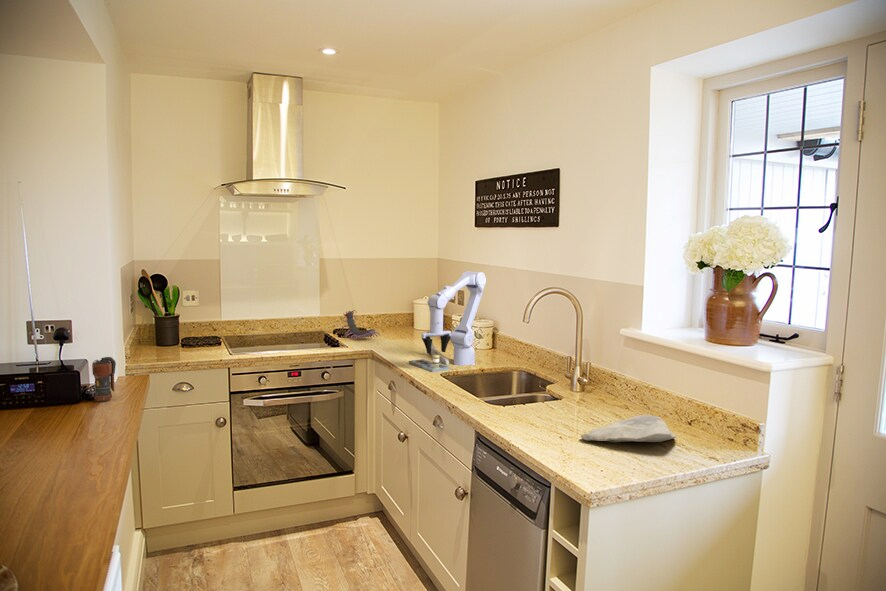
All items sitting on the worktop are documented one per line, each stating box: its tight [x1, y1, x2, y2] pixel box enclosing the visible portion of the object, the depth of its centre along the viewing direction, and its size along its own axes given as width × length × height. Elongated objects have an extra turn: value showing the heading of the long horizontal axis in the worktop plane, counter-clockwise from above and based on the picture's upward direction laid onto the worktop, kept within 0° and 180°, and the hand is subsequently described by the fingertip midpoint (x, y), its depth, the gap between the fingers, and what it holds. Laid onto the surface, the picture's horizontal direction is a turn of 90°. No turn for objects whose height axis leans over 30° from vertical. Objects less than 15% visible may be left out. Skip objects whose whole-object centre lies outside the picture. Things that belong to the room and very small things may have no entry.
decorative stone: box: [580, 414, 677, 443], centre depth 186 cm, size 28×7×30 cm
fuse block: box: [408, 358, 432, 369], centre depth 277 cm, size 8×10×2 cm
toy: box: [340, 310, 381, 340], centre depth 342 cm, size 12×26×15 cm, turn 44°
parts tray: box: [421, 363, 451, 373], centre depth 269 cm, size 9×9×2 cm
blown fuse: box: [431, 355, 440, 369], centre depth 269 cm, size 3×3×6 cm
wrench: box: [428, 341, 450, 366], centre depth 291 cm, size 8×2×30 cm
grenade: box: [91, 356, 117, 403], centre depth 213 cm, size 6×8×15 cm
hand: (436, 352), depth 268 cm, fingers open, 7 cm apart
